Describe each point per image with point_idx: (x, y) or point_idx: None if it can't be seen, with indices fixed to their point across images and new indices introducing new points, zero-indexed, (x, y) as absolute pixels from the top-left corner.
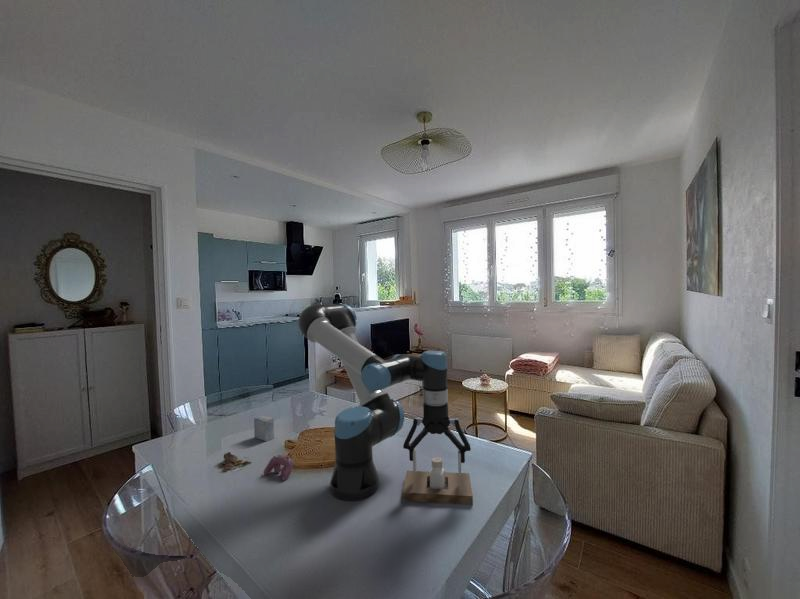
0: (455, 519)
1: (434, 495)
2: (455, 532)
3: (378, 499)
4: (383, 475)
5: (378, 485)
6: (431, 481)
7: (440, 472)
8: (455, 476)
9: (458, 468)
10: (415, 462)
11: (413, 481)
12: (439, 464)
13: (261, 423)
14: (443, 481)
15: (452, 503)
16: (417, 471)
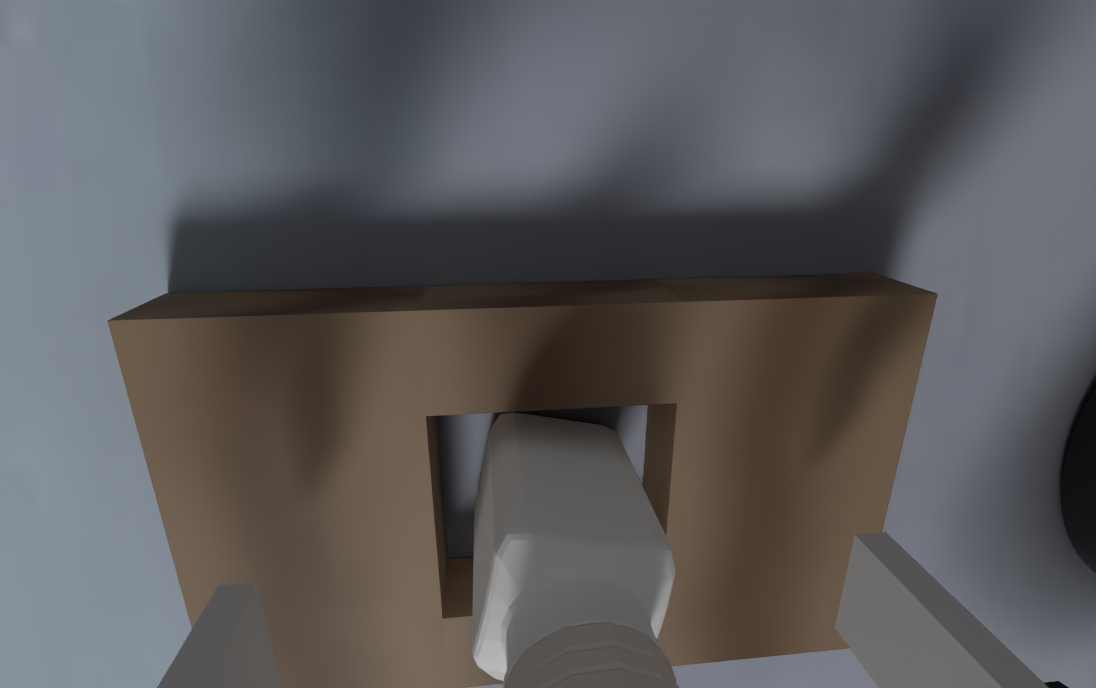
0: (335, 18)
1: (582, 300)
2: None
3: (1085, 270)
4: (1002, 594)
5: (1073, 451)
6: (628, 482)
7: (527, 578)
8: (361, 641)
9: (236, 683)
10: (975, 657)
11: (805, 494)
12: (553, 685)
13: None
14: (485, 512)
15: (387, 289)
16: (755, 651)
